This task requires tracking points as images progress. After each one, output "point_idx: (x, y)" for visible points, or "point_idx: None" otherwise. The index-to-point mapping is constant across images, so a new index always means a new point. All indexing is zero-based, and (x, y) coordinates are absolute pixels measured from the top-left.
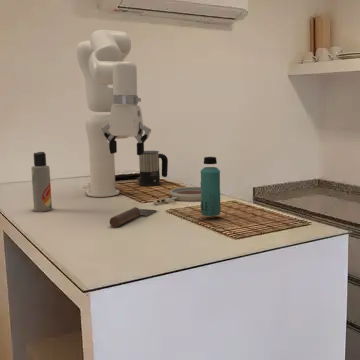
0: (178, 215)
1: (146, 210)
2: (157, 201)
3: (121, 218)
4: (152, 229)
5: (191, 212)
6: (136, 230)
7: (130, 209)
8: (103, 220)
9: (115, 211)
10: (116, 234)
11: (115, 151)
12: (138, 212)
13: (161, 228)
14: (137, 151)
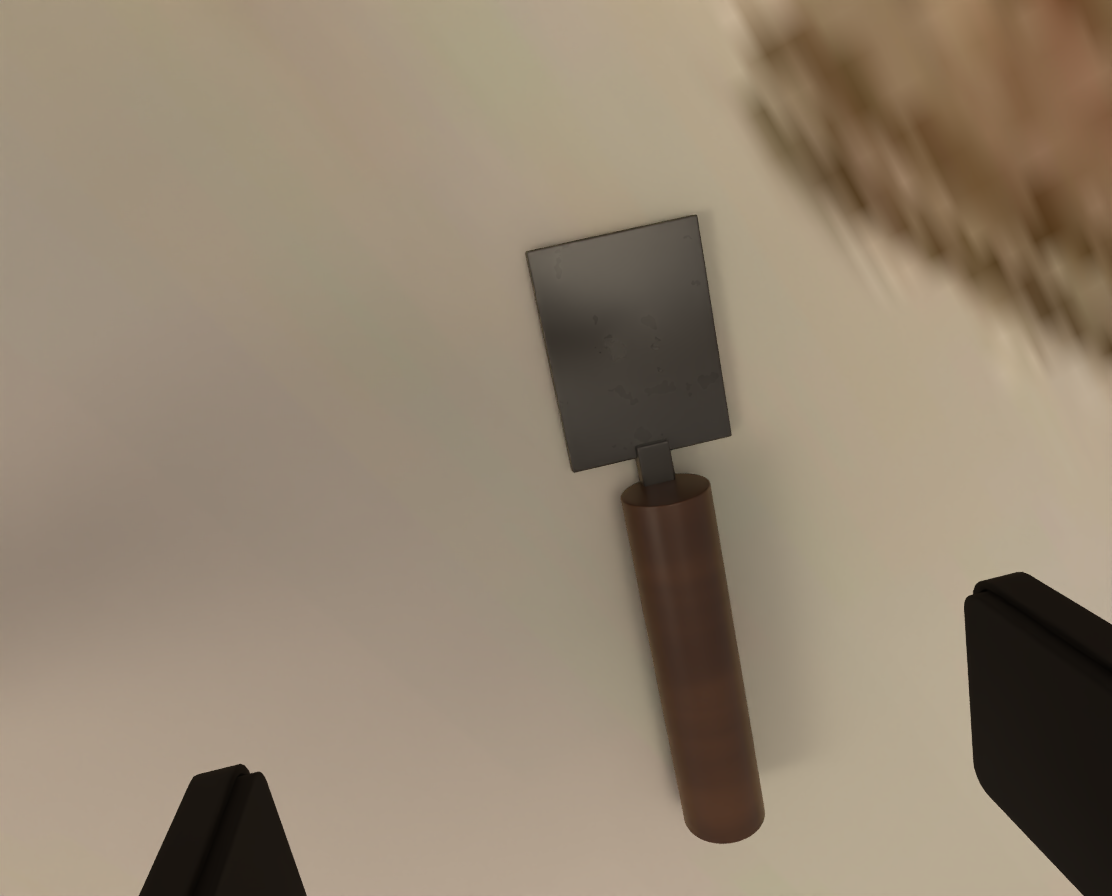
0: (956, 246)
1: (624, 277)
2: None
3: (757, 777)
4: None
5: (1014, 77)
6: (891, 763)
7: (688, 594)
8: (495, 689)
9: (343, 403)
10: (829, 887)
11: (271, 840)
12: (714, 514)
13: None
14: (1053, 841)
